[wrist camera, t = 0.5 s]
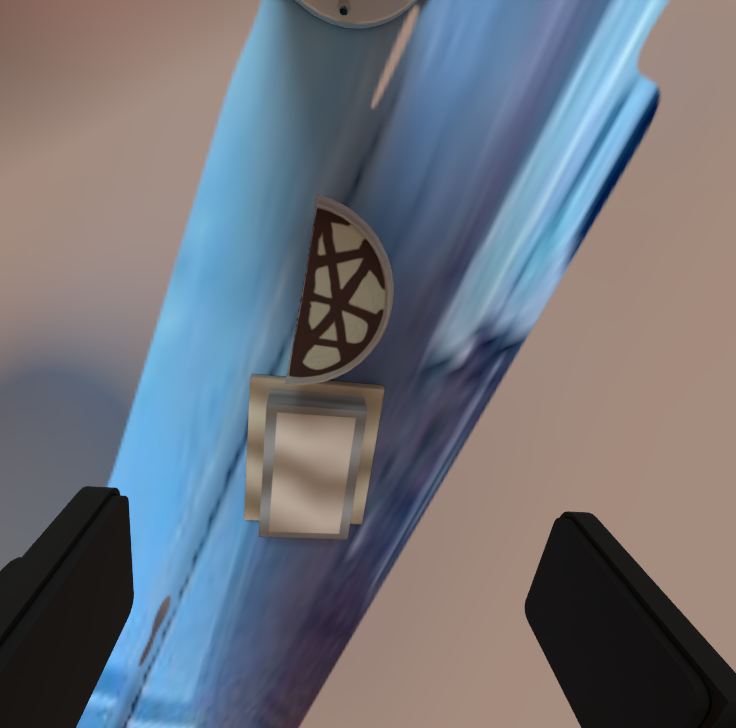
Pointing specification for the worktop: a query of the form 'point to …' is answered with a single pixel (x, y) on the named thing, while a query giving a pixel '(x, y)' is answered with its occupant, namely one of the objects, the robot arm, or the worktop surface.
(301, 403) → the beige rectangular frame
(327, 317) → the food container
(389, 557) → the worktop surface
